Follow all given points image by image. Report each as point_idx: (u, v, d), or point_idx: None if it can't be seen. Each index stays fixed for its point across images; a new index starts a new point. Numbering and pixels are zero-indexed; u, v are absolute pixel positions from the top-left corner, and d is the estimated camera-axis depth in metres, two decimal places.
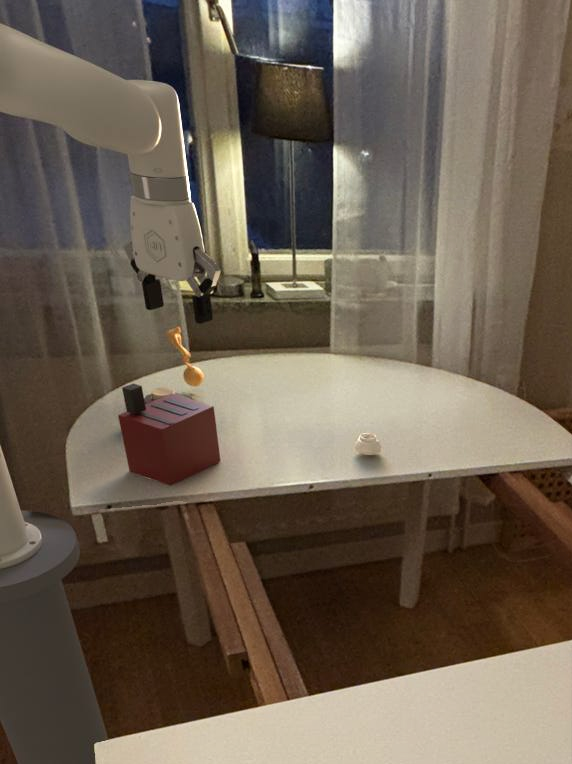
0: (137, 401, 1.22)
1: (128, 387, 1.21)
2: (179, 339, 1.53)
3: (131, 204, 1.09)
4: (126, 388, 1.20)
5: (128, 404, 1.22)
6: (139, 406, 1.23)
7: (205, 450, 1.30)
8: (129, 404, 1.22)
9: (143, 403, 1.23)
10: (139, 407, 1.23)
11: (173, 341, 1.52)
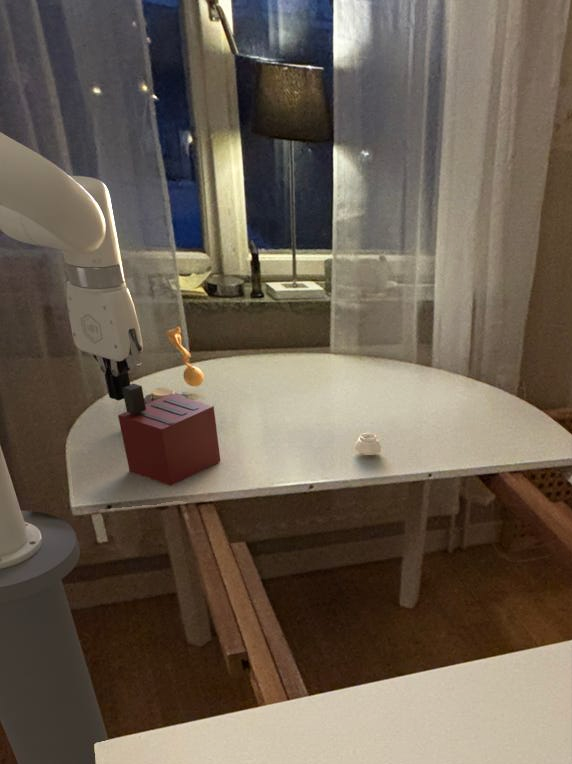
0: (137, 401, 1.22)
1: (128, 387, 1.21)
2: (179, 339, 1.53)
3: (67, 289, 1.13)
4: (126, 388, 1.20)
5: (128, 404, 1.22)
6: (139, 406, 1.23)
7: (205, 450, 1.30)
8: (129, 404, 1.22)
9: (143, 403, 1.23)
10: (139, 407, 1.23)
11: (173, 341, 1.52)
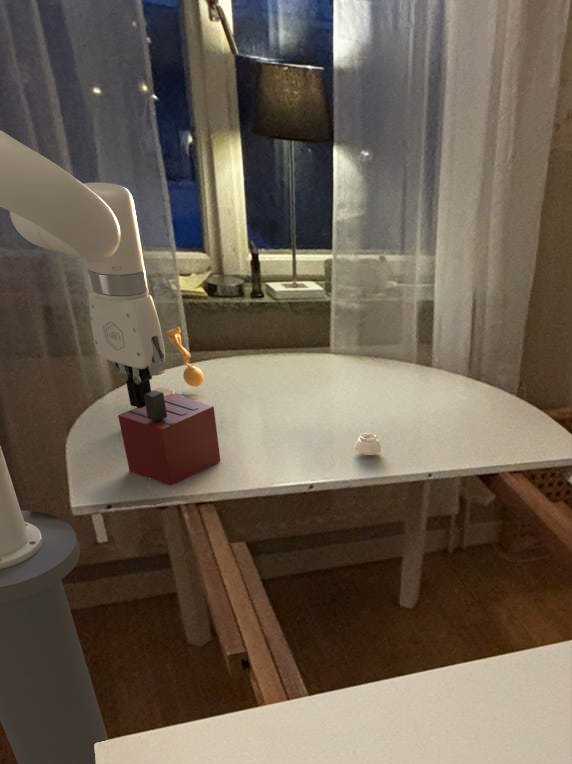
0: (158, 408, 1.21)
1: (150, 394, 1.19)
2: (179, 339, 1.53)
3: (90, 297, 1.12)
4: (148, 394, 1.19)
5: (149, 411, 1.21)
6: (160, 413, 1.21)
7: (205, 450, 1.30)
8: (151, 411, 1.20)
9: (164, 410, 1.22)
10: (161, 414, 1.21)
11: (173, 341, 1.52)
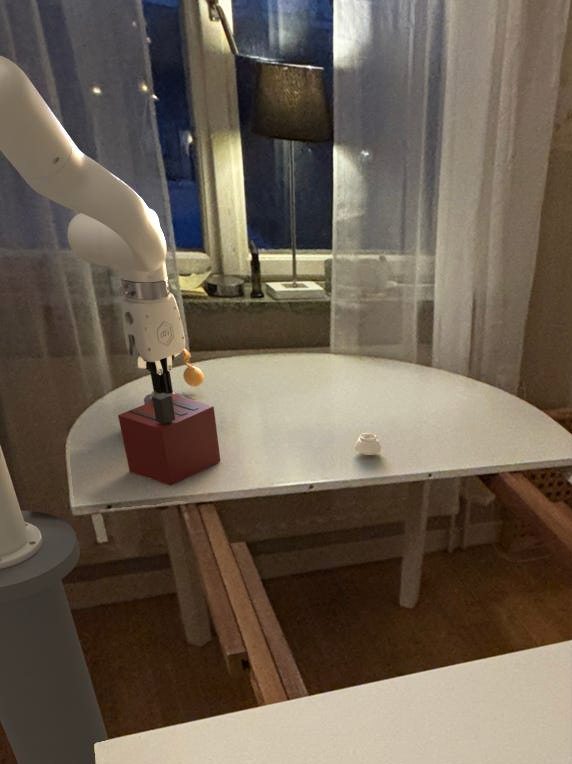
0: (167, 411, 1.20)
1: (158, 397, 1.19)
2: None
3: (142, 310, 1.30)
4: (156, 397, 1.19)
5: (158, 414, 1.20)
6: (169, 416, 1.21)
7: (205, 450, 1.30)
8: (159, 414, 1.20)
9: (173, 412, 1.21)
10: (169, 416, 1.21)
11: None
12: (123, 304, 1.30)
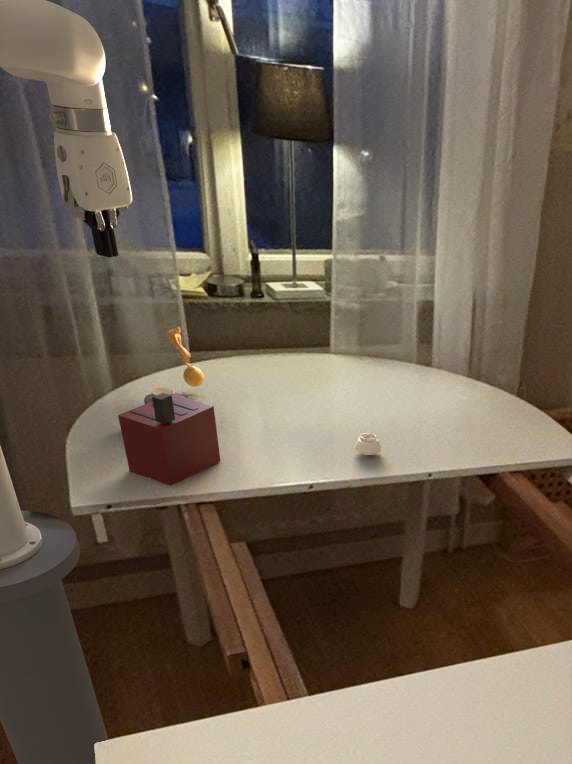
0: (167, 411, 1.20)
1: (158, 397, 1.19)
2: (179, 339, 1.53)
3: (77, 143, 1.12)
4: (156, 397, 1.19)
5: (158, 414, 1.20)
6: (169, 416, 1.21)
7: (205, 450, 1.30)
8: (159, 414, 1.20)
9: (173, 412, 1.21)
10: (169, 416, 1.21)
11: (173, 341, 1.52)
12: (55, 137, 1.12)
